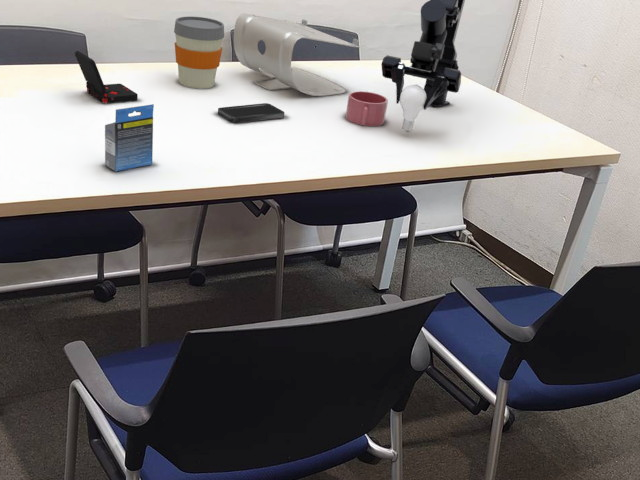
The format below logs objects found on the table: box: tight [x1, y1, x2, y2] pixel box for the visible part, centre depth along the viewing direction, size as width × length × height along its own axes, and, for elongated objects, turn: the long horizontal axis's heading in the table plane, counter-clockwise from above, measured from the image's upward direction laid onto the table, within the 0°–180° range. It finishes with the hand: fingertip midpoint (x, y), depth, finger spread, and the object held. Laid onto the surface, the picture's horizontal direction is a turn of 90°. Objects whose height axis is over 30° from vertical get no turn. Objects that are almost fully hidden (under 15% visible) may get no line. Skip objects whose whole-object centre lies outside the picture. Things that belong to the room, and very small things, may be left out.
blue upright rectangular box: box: [104, 103, 155, 173], centre depth 171 cm, size 9×4×12 cm, turn 133°
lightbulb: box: [399, 84, 427, 133], centre depth 207 cm, size 6×6×11 cm
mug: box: [345, 90, 389, 127], centre depth 215 cm, size 13×10×6 cm
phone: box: [217, 102, 285, 124], centre depth 209 cm, size 8×1×15 cm
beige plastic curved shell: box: [233, 13, 360, 97], centre depth 233 cm, size 26×24×16 cm
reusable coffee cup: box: [173, 16, 225, 90], centre depth 222 cm, size 13×12×15 cm
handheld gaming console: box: [74, 50, 138, 104], centre depth 206 cm, size 9×12×10 cm
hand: (410, 105), depth 206 cm, fingers closed on lightbulb, 6 cm apart
